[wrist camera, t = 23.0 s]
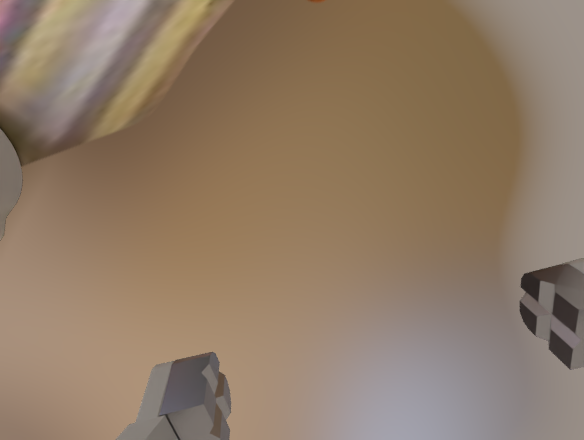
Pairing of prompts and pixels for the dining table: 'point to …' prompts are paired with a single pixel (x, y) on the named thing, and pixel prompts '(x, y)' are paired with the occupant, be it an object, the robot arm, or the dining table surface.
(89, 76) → the dining table surface
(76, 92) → the dining table surface
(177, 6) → the dining table surface
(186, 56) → the dining table surface
